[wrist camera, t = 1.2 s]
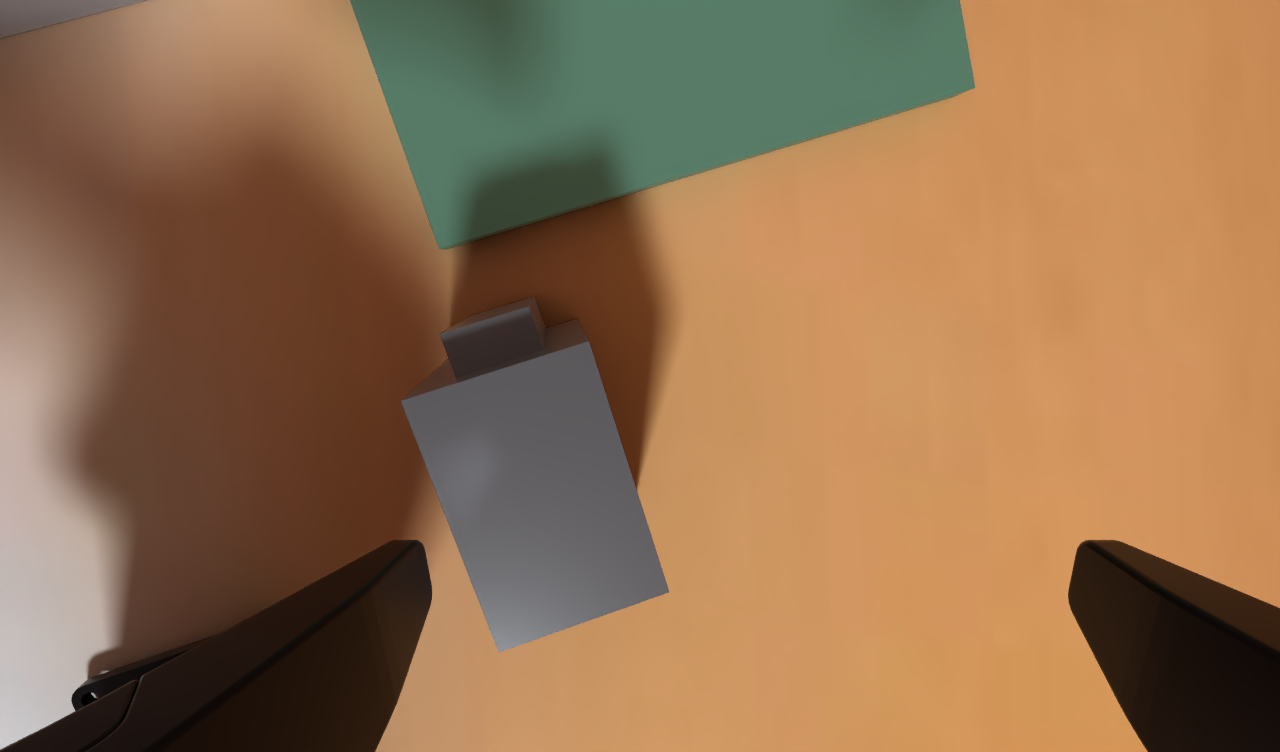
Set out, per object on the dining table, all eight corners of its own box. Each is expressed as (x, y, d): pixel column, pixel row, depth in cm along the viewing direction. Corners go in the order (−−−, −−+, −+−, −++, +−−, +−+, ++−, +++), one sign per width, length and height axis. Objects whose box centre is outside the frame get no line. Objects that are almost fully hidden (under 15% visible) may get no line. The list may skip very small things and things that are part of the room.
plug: (514, 539, 20) (498, 652, 14) (435, 326, 19) (382, 354, 13) (635, 497, 20) (669, 592, 14) (567, 286, 19) (574, 294, 13)
